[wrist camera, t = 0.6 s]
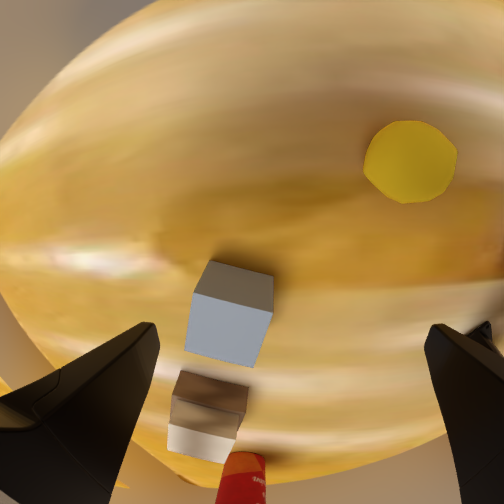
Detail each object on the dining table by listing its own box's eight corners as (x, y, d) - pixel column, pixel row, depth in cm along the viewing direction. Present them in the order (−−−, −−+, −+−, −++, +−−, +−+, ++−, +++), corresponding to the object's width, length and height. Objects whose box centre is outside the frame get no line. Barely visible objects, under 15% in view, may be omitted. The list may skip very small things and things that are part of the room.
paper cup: (264, 471, 35) (259, 546, 22) (216, 464, 35) (202, 539, 22) (279, 452, 32) (276, 540, 19) (223, 443, 32) (208, 533, 19)
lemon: (365, 201, 20) (380, 225, 15) (346, 130, 18) (358, 130, 13) (446, 183, 18) (481, 201, 13) (432, 113, 16) (467, 112, 11)
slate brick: (273, 276, 22) (273, 312, 17) (257, 326, 24) (253, 368, 19) (209, 259, 22) (193, 292, 17) (199, 312, 24) (184, 350, 19)
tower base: (248, 386, 27) (242, 438, 21) (234, 421, 30) (228, 466, 23) (181, 369, 27) (163, 418, 21) (176, 406, 29) (162, 450, 23)
